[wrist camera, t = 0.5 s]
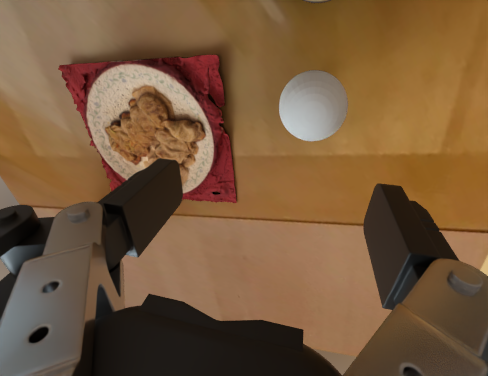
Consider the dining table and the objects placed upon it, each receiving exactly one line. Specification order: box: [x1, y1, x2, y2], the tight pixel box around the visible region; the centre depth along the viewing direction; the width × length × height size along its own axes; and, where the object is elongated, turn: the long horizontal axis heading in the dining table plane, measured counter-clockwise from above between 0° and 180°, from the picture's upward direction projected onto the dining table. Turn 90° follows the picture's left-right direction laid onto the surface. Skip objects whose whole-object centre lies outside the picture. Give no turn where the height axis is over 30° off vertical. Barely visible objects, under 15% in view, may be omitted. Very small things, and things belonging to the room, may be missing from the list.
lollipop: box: [279, 70, 348, 141], centre depth 26 cm, size 6×6×15 cm
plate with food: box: [58, 55, 236, 203], centre depth 41 cm, size 24×26×4 cm
